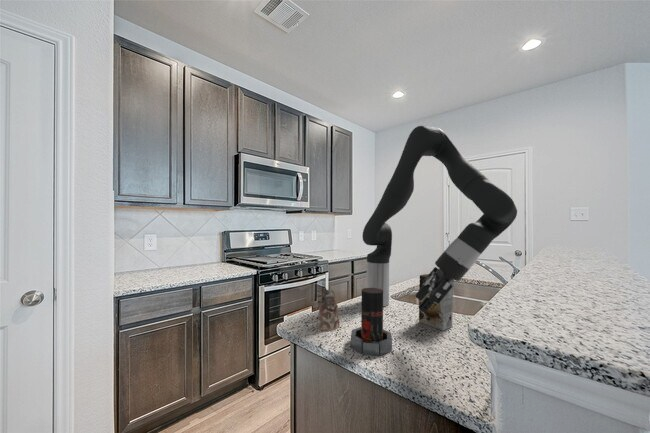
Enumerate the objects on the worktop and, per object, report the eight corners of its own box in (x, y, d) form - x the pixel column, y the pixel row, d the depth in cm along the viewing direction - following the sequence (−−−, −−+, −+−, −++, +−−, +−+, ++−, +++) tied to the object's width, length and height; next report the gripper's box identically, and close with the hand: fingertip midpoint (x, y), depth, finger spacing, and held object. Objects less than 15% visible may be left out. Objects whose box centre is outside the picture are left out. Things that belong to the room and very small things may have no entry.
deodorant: (386, 347, 76) (387, 292, 76) (366, 350, 74) (367, 293, 74) (376, 338, 82) (377, 287, 82) (357, 340, 80) (358, 288, 80)
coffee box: (417, 322, 95) (418, 275, 95) (428, 318, 99) (428, 272, 99) (443, 331, 88) (444, 280, 88) (453, 326, 92) (454, 277, 92)
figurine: (322, 332, 87) (323, 293, 87) (313, 324, 93) (314, 288, 93) (343, 328, 90) (343, 291, 90) (332, 320, 96) (333, 285, 96)
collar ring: (352, 335, 84) (353, 325, 84) (390, 338, 82) (390, 328, 82) (349, 352, 74) (349, 341, 74) (392, 357, 72) (392, 345, 72)
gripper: (440, 245, 83) (406, 287, 86) (451, 256, 69) (410, 305, 72) (462, 261, 82) (427, 302, 85) (478, 275, 68) (435, 324, 71)
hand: (419, 303), depth 78 cm, fingers open, 8 cm apart
